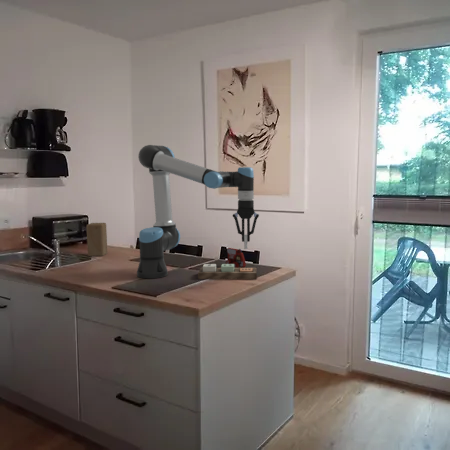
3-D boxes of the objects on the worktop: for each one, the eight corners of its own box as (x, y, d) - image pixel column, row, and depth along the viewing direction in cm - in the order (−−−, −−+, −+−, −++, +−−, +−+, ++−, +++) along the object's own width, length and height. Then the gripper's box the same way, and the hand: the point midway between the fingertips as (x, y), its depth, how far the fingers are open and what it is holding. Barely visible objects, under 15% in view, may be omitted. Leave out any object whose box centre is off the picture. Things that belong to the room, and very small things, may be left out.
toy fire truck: (239, 270, 233) (239, 250, 232) (223, 267, 242) (223, 248, 241) (248, 268, 237) (248, 249, 236) (232, 265, 247) (232, 246, 245)
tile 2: (221, 273, 217) (221, 266, 217) (222, 270, 223) (222, 263, 223) (233, 273, 217) (233, 266, 216) (234, 270, 223) (234, 263, 222)
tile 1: (202, 273, 218) (202, 266, 217) (204, 270, 224) (204, 263, 223) (215, 273, 217) (215, 266, 217) (216, 270, 223) (216, 263, 223)
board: (198, 279, 215) (197, 272, 215) (201, 273, 227) (200, 267, 227) (256, 279, 213) (256, 273, 213) (256, 273, 225) (256, 267, 225)
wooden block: (103, 256, 279) (102, 224, 276) (87, 256, 279) (85, 224, 276) (107, 253, 289) (106, 222, 286) (92, 253, 289) (90, 222, 286)
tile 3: (239, 277, 217) (239, 270, 216) (240, 274, 223) (240, 267, 222) (252, 277, 216) (252, 270, 216) (252, 274, 222) (252, 267, 222)
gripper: (231, 200, 212) (232, 249, 215) (259, 200, 211) (259, 249, 214) (232, 199, 219) (232, 246, 222) (259, 199, 218) (259, 247, 221)
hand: (245, 248), depth 218 cm, fingers closed
